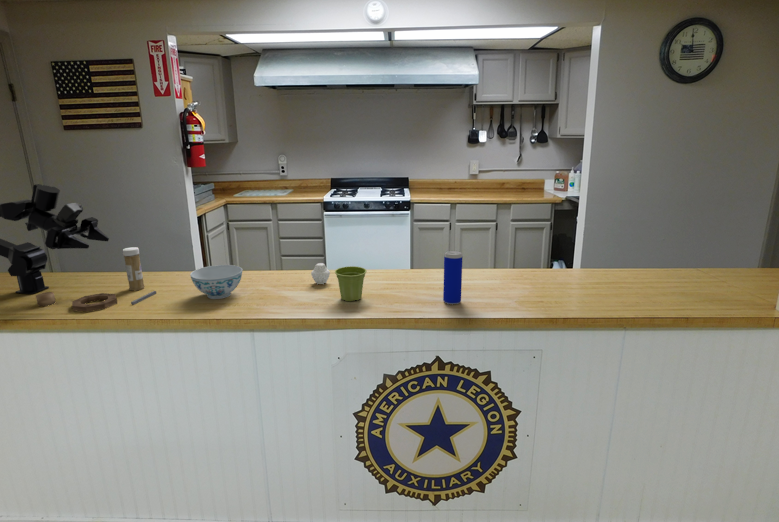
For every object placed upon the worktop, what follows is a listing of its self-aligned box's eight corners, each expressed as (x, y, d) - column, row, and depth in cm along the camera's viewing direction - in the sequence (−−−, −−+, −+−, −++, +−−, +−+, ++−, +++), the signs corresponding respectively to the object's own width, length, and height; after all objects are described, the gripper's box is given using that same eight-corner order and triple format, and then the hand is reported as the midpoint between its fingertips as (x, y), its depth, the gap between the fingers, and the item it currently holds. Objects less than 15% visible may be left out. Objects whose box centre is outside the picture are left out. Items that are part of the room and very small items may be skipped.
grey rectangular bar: (133, 304, 140) (133, 302, 140) (131, 304, 140) (130, 301, 140) (156, 293, 150) (156, 291, 150) (154, 293, 150) (153, 290, 150)
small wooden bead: (34, 307, 139) (32, 297, 139) (43, 301, 144) (40, 292, 143) (51, 306, 140) (49, 296, 139) (58, 301, 144) (56, 291, 143)
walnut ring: (63, 310, 137) (62, 305, 136) (94, 297, 147) (93, 292, 147) (96, 312, 134) (95, 307, 134) (125, 299, 145) (124, 294, 144)
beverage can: (462, 300, 141) (464, 251, 137) (459, 306, 137) (460, 255, 133) (445, 298, 143) (446, 249, 139) (441, 304, 138) (442, 254, 134)
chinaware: (210, 286, 156) (208, 263, 154) (253, 289, 153) (251, 265, 151) (182, 302, 142) (179, 277, 140) (228, 305, 139) (226, 280, 137)
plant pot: (372, 295, 146) (371, 268, 144) (357, 305, 138) (356, 277, 136) (345, 291, 150) (344, 264, 148) (330, 301, 142) (328, 273, 139)
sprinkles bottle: (145, 289, 154) (139, 248, 150) (129, 291, 151) (123, 250, 148) (143, 285, 157) (137, 245, 154) (128, 288, 155) (121, 247, 151)
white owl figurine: (329, 286, 155) (328, 265, 153) (310, 286, 155) (309, 265, 153) (331, 280, 161) (330, 260, 159) (313, 280, 161) (312, 260, 159)
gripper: (31, 203, 135) (83, 225, 136) (77, 194, 153) (123, 214, 154) (24, 238, 138) (75, 260, 139) (70, 225, 156) (115, 244, 157)
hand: (98, 243), depth 147 cm, fingers open, 9 cm apart
